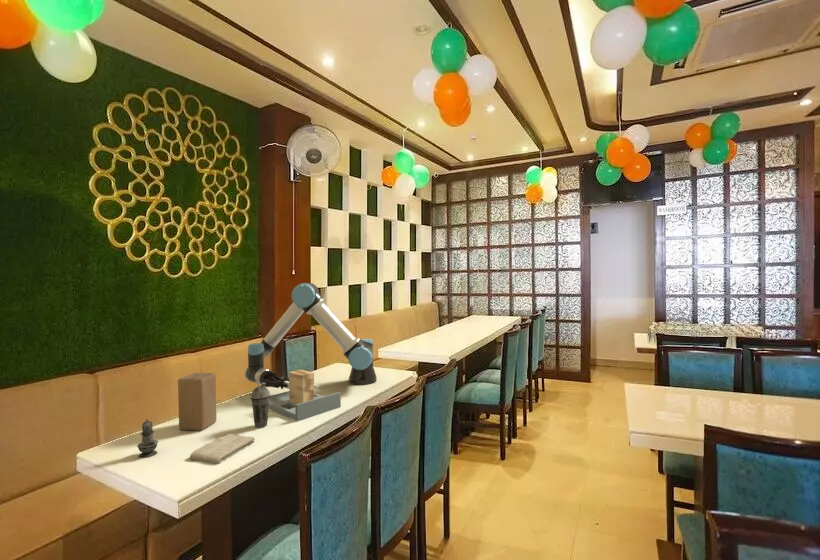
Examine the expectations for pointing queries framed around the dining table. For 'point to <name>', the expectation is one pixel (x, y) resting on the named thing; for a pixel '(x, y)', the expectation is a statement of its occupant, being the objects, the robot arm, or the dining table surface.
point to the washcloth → (221, 448)
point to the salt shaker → (147, 441)
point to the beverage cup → (260, 405)
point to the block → (197, 401)
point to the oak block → (301, 386)
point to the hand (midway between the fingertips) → (293, 386)
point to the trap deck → (304, 405)
